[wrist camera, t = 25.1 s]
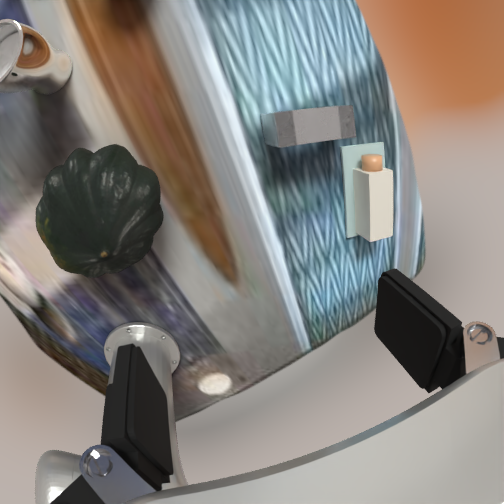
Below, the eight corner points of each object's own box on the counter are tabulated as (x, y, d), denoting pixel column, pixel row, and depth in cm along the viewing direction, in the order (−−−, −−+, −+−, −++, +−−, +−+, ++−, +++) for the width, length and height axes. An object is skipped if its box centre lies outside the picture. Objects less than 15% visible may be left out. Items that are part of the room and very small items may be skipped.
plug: (377, 226, 46) (392, 235, 43) (355, 232, 46) (370, 242, 42) (374, 152, 41) (392, 156, 37) (351, 155, 40) (367, 159, 37)
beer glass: (67, 99, 29) (11, 91, 16) (24, 96, 27) (-42, 92, 13) (82, 47, 27) (35, 13, 13) (38, 46, 24) (-21, 21, 11)
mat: (384, 226, 47) (385, 227, 47) (346, 236, 46) (347, 238, 46) (381, 142, 41) (383, 142, 41) (340, 147, 40) (341, 147, 40)
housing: (333, 133, 39) (356, 137, 34) (265, 143, 38) (279, 147, 33) (330, 105, 37) (352, 105, 32) (260, 113, 36) (274, 112, 31)
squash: (17, 159, 26) (11, 278, 20) (130, 100, 27) (158, 210, 22) (71, 216, 39) (86, 314, 33) (162, 176, 41) (194, 271, 35)
